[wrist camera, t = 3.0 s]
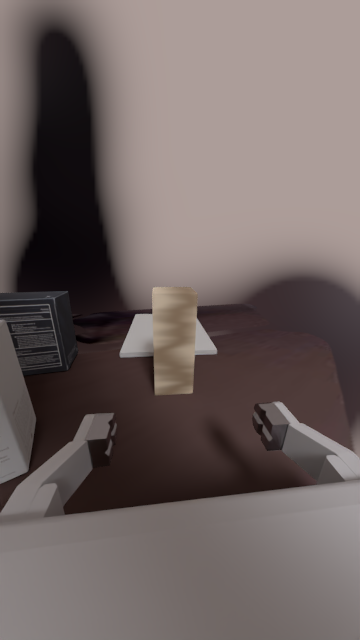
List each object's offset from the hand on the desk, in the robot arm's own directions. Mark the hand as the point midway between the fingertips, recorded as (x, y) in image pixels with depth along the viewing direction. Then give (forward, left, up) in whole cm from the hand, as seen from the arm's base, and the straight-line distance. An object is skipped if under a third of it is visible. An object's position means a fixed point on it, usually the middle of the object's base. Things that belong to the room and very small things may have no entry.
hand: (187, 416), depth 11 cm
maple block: (0, +12, -7) cm, 14 cm away
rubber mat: (0, +30, -7) cm, 31 cm away
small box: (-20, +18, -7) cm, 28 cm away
